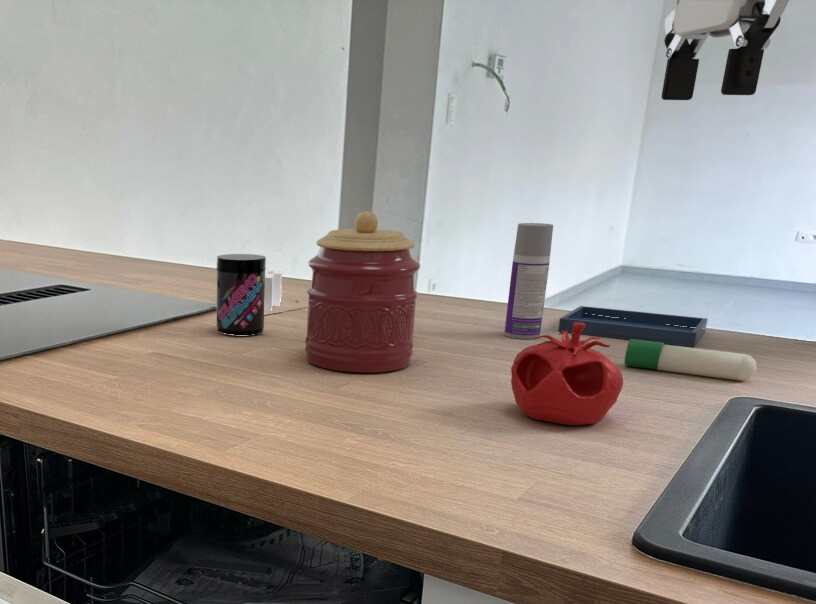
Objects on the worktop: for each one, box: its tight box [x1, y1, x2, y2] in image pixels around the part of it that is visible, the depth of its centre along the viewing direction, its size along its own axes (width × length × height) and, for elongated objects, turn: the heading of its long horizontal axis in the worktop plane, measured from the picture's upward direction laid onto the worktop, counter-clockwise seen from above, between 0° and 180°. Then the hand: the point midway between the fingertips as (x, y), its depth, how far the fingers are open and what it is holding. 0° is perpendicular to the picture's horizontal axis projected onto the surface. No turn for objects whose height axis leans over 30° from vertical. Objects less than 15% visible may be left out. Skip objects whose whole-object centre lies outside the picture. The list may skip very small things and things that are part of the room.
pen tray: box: [558, 305, 708, 348], centre depth 122 cm, size 17×12×2 cm
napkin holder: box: [264, 267, 283, 311], centre depth 139 cm, size 15×11×6 cm
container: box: [504, 222, 554, 340], centre depth 117 cm, size 5×5×15 cm
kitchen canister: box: [304, 210, 421, 374], centre depth 102 cm, size 13×13×18 cm
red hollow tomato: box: [510, 322, 624, 426], centre depth 82 cm, size 10×10×9 cm
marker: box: [624, 339, 758, 382], centre depth 99 cm, size 13×3×3 cm, turn 55°
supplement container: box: [215, 253, 267, 335], centre depth 119 cm, size 7×7×10 cm
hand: (705, 97), depth 87 cm, fingers open, 9 cm apart
